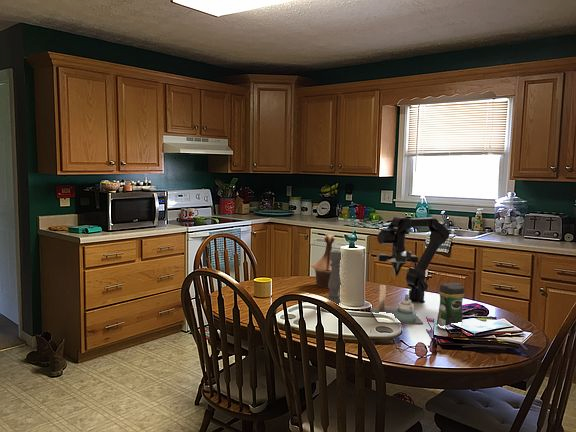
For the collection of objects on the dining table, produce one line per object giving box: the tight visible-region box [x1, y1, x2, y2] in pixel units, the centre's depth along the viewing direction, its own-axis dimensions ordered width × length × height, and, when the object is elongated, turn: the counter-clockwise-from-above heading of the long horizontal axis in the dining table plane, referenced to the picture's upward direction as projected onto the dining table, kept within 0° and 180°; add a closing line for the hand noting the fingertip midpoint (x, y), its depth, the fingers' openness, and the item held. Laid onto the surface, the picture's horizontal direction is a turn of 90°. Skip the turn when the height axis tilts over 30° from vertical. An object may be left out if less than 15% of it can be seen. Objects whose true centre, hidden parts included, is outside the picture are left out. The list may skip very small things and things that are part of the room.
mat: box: [369, 307, 424, 325], centre depth 214 cm, size 19×19×1 cm
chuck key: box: [377, 284, 415, 314], centre depth 209 cm, size 14×6×11 cm, turn 76°
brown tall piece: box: [310, 233, 336, 289], centre depth 261 cm, size 18×17×28 cm
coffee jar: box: [436, 282, 465, 326], centre depth 200 cm, size 10×8×19 cm
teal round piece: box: [394, 310, 417, 322], centre depth 208 cm, size 9×9×4 cm
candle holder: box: [326, 249, 342, 305], centre depth 227 cm, size 6×6×25 cm
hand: (396, 275), depth 234 cm, fingers closed
